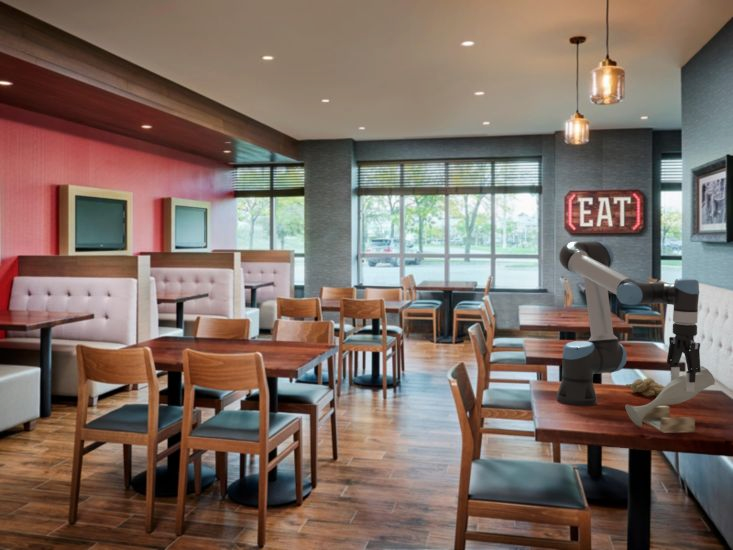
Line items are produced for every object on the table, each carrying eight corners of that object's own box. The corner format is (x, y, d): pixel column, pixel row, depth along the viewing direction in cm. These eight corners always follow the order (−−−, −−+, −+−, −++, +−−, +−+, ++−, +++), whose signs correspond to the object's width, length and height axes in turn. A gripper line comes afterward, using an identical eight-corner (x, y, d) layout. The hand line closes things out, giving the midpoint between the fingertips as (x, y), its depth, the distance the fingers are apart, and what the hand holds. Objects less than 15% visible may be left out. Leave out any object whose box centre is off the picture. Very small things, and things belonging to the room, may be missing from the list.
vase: (621, 401, 214) (694, 362, 217) (631, 422, 215) (702, 382, 218) (636, 408, 206) (710, 367, 208) (645, 429, 206) (719, 389, 209)
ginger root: (622, 385, 264) (627, 368, 263) (659, 396, 262) (665, 379, 260) (629, 395, 249) (635, 377, 248) (669, 407, 246) (676, 389, 245)
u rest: (663, 432, 204) (664, 419, 203) (637, 418, 219) (637, 406, 219) (694, 432, 205) (695, 418, 205) (665, 418, 221) (666, 405, 220)
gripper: (715, 327, 201) (712, 395, 202) (676, 319, 221) (674, 381, 223) (694, 327, 200) (690, 396, 201) (657, 319, 220) (654, 381, 222)
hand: (682, 388), depth 212 cm, fingers closed on vase, 8 cm apart
